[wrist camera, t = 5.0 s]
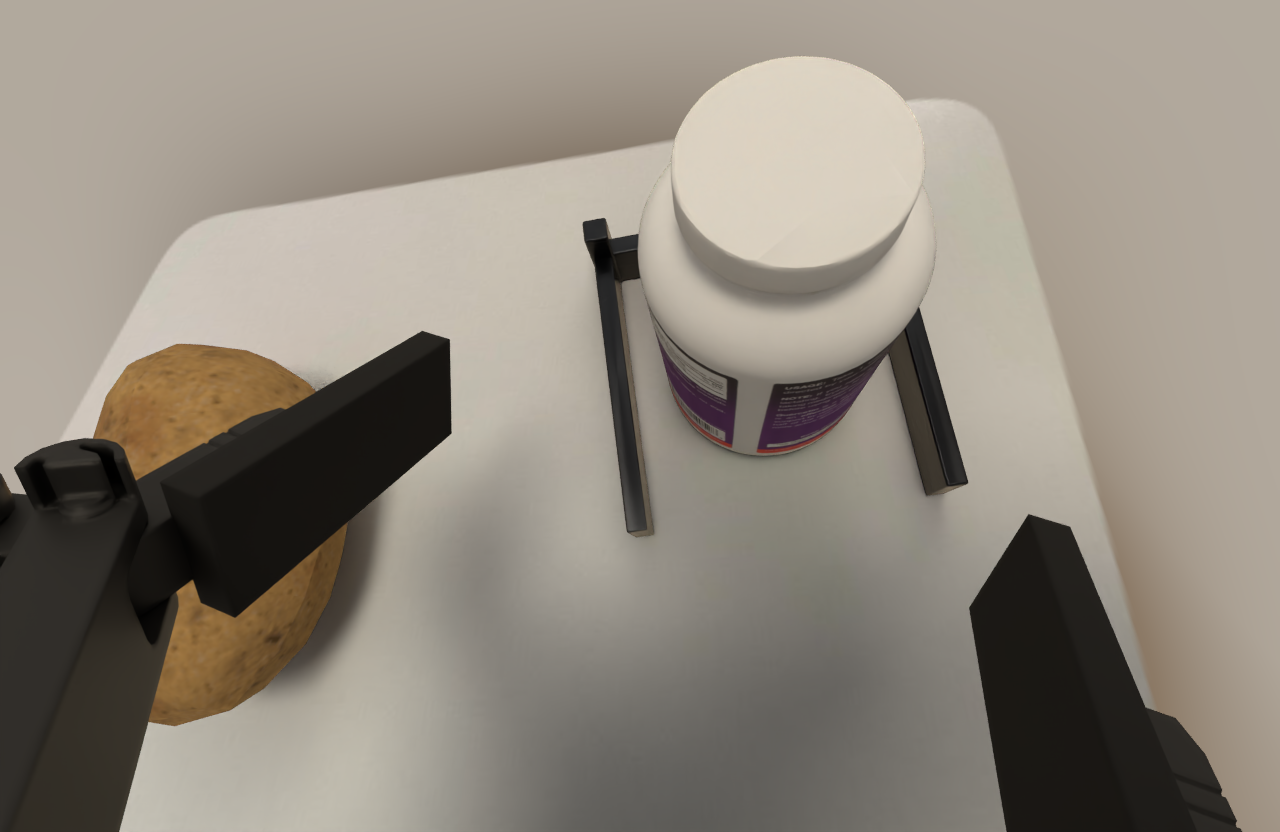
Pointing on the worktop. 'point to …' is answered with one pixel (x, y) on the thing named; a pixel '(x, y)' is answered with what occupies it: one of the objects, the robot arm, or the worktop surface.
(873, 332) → the pill bottle
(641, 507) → the u-shaped frame
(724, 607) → the worktop surface
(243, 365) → the potato
